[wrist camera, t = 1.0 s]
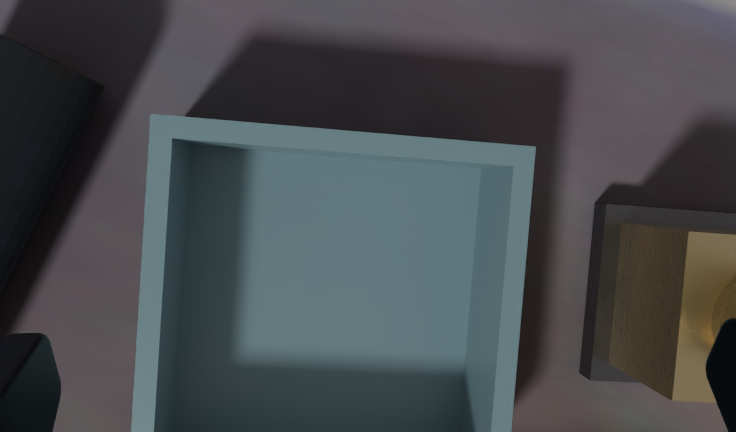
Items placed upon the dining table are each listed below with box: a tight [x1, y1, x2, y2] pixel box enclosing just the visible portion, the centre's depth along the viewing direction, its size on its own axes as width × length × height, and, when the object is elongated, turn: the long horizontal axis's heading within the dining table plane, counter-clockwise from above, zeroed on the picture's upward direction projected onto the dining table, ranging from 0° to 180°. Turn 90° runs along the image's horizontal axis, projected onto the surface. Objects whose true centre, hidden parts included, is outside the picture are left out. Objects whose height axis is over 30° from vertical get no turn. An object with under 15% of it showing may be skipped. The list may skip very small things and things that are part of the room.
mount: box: [580, 203, 736, 383], centre depth 26 cm, size 7×7×4 cm
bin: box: [131, 114, 536, 432], centre depth 24 cm, size 12×12×4 cm
